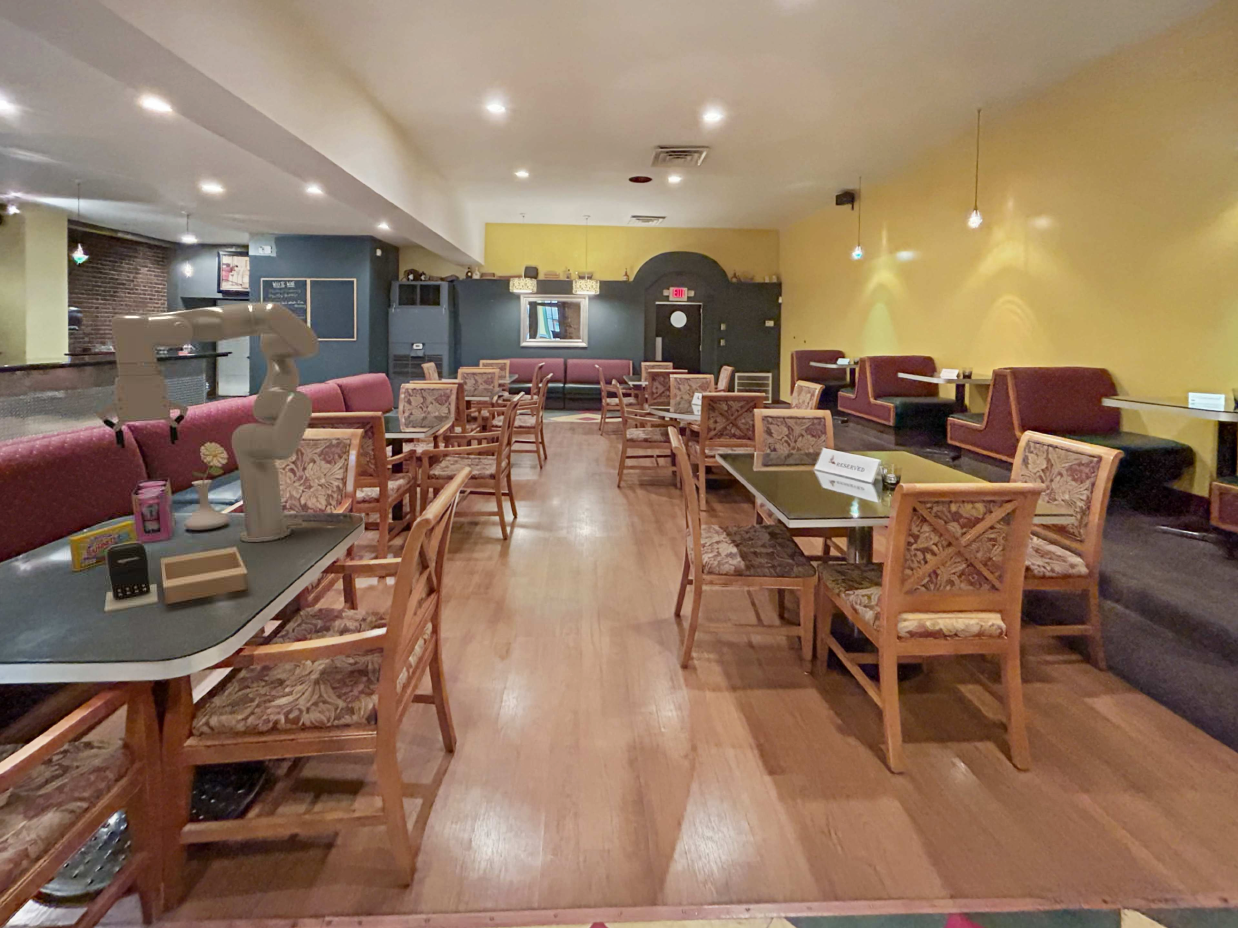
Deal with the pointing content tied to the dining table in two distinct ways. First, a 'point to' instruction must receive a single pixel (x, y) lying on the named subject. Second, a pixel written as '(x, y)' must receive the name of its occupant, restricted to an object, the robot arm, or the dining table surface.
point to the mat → (131, 600)
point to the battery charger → (128, 570)
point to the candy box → (99, 544)
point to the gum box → (153, 510)
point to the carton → (203, 574)
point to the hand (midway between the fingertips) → (148, 445)
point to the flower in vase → (205, 513)
